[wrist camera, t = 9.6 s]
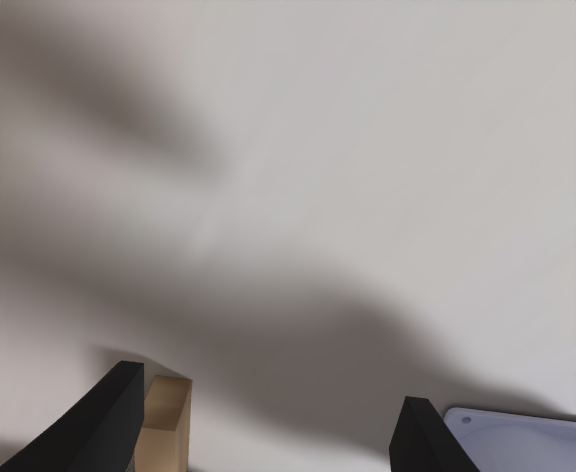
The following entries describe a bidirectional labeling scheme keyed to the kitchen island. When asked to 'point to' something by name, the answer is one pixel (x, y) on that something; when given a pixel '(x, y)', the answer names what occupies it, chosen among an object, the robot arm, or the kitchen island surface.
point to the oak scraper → (165, 427)
